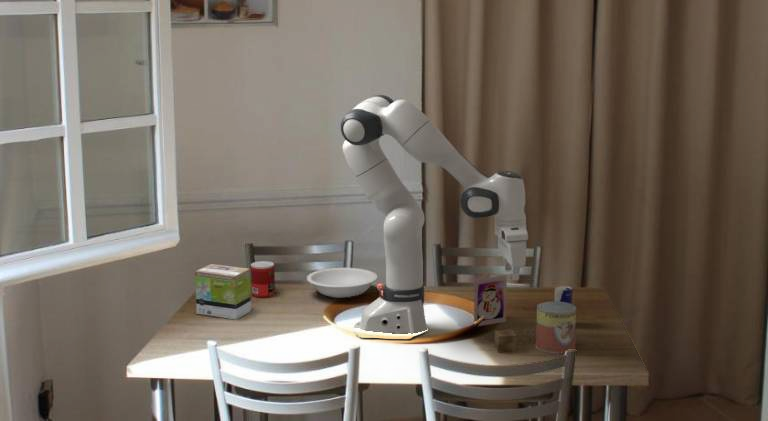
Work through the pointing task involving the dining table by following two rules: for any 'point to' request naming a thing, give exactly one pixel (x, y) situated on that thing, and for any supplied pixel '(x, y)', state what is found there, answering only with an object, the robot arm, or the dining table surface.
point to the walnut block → (505, 341)
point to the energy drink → (563, 294)
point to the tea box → (223, 291)
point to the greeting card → (490, 299)
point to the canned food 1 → (262, 279)
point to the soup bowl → (342, 281)
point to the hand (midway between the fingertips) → (511, 275)
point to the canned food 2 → (555, 326)
